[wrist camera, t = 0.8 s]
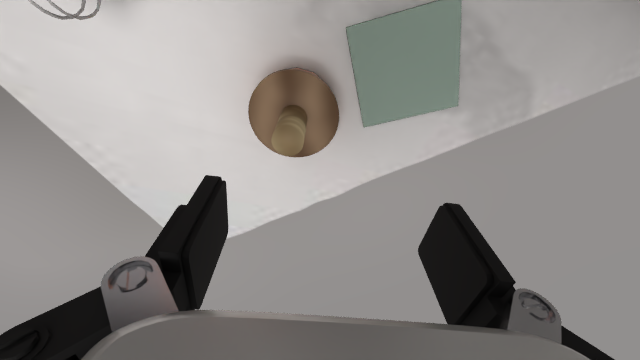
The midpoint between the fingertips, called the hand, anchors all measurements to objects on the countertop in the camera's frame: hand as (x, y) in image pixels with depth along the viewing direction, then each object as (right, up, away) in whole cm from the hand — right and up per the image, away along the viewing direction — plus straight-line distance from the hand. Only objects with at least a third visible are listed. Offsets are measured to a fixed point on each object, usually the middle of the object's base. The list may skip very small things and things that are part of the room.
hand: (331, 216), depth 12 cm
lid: (-4, +10, +24) cm, 27 cm away
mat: (+11, +17, +25) cm, 33 cm away
